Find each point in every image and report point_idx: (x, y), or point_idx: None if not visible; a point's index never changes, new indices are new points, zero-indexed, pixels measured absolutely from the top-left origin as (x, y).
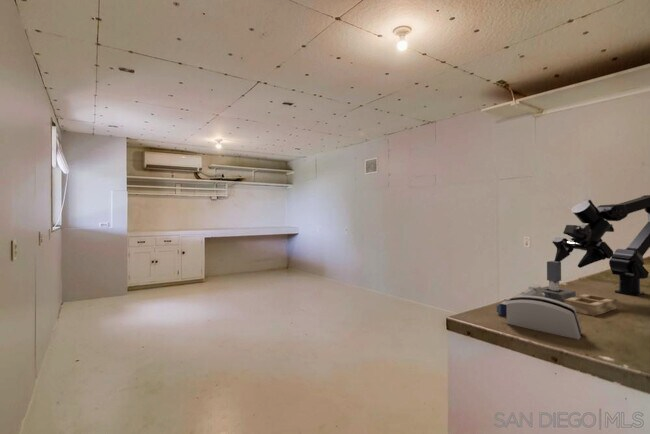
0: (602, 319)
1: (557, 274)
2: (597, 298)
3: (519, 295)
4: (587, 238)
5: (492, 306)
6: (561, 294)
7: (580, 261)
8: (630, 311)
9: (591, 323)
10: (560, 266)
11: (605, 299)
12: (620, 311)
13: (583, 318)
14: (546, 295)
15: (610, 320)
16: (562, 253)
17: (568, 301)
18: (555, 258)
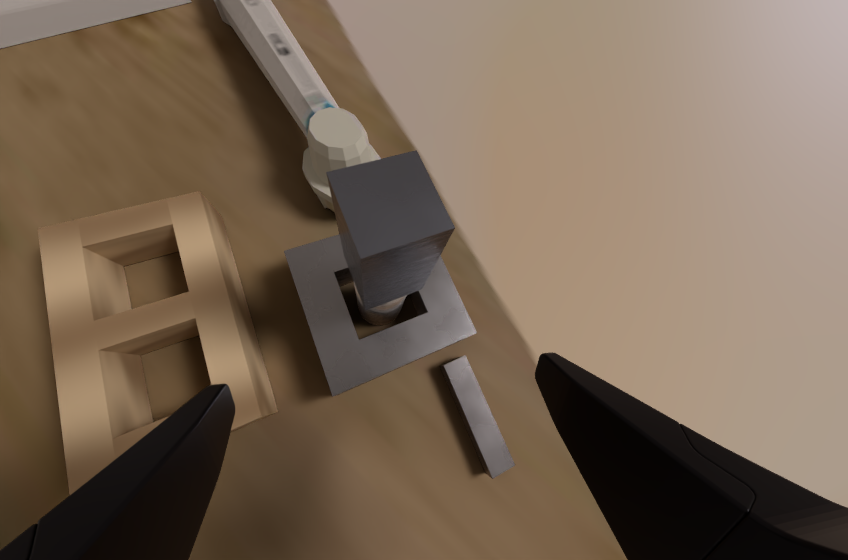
0: (35, 243)
1: (346, 250)
2: None
3: (262, 25)
4: None
5: (338, 38)
6: (290, 257)
7: (176, 430)
8: (43, 510)
9: (25, 163)
10: (358, 267)
11: (99, 406)
12: None
13: (87, 186)
14: None
15: (5, 262)
16: (679, 531)
17: (179, 198)
18: (587, 375)
